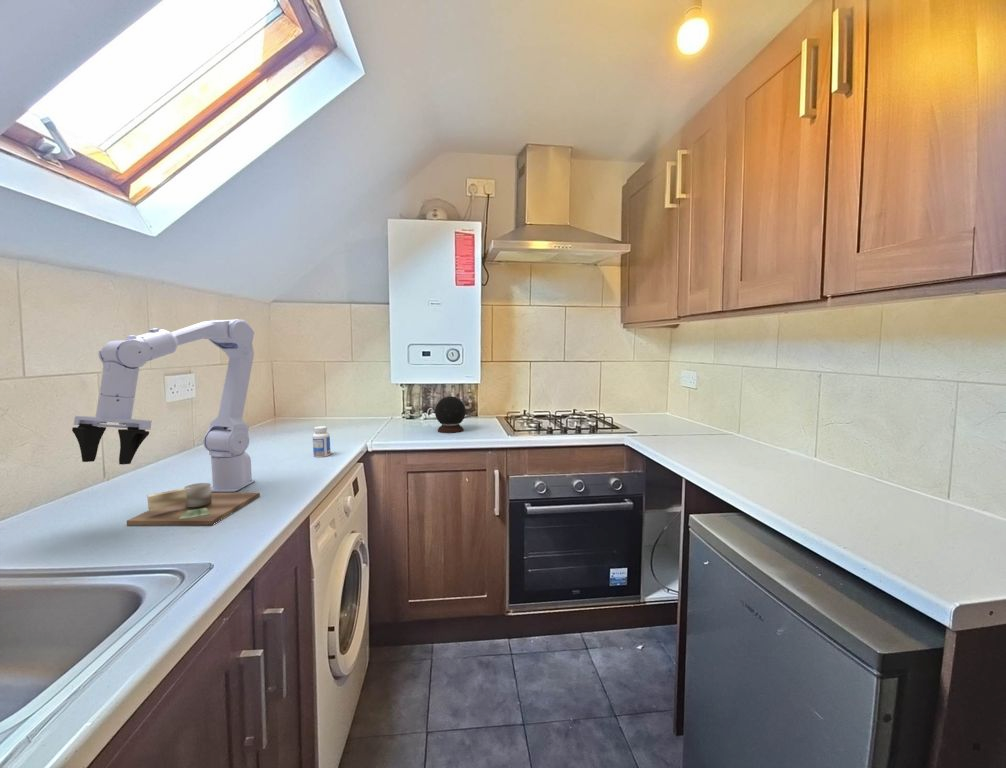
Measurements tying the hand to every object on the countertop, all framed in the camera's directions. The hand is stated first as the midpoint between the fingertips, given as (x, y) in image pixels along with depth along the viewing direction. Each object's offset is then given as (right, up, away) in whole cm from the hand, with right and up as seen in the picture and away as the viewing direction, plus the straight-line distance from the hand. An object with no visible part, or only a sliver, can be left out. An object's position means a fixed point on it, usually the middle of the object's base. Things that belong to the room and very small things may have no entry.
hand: (106, 462), depth 93 cm
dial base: (+12, -12, +10) cm, 20 cm away
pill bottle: (+20, -8, +61) cm, 65 cm away
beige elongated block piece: (+10, -11, +8) cm, 17 cm away
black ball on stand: (+59, -4, +104) cm, 120 cm away
